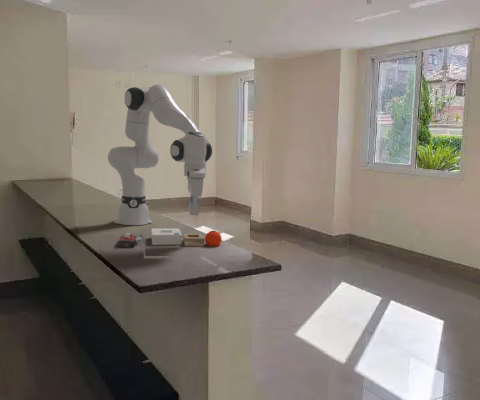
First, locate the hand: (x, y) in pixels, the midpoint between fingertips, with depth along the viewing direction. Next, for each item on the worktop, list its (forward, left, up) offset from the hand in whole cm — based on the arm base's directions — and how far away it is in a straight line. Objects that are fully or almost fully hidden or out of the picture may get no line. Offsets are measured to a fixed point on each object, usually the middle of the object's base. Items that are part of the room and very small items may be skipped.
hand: (193, 204), depth 204 cm
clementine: (+3, +8, -18) cm, 20 cm away
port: (-5, -11, -17) cm, 21 cm away
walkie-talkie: (-7, -26, -18) cm, 32 cm away
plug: (0, 0, -4) cm, 4 cm away
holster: (0, 0, -17) cm, 17 cm away
